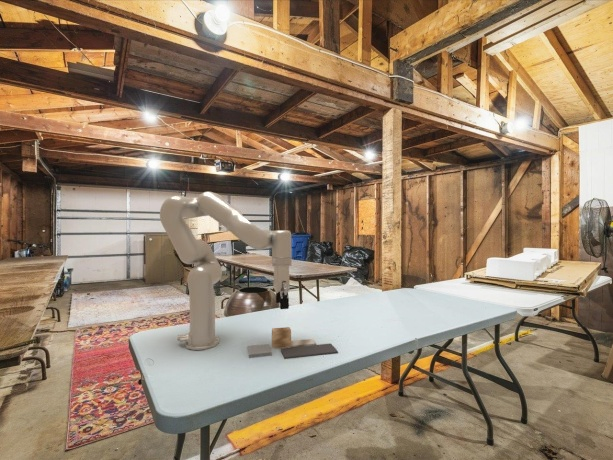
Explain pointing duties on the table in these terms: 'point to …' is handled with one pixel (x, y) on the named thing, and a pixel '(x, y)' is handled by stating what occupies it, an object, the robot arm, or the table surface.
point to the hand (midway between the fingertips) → (282, 305)
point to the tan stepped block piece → (287, 339)
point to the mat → (308, 351)
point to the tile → (259, 350)
